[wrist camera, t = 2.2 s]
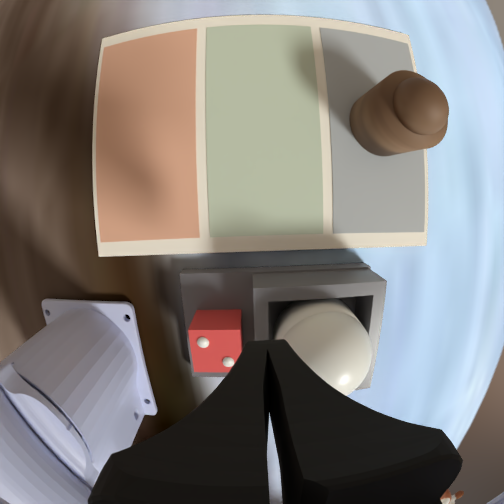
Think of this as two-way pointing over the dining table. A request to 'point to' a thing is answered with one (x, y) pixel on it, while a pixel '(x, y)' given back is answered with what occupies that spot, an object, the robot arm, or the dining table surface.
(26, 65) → the dining table surface
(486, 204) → the dining table surface
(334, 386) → the dome
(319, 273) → the grey open box
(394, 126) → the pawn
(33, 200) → the dining table surface
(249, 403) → the robot arm
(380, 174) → the game board
